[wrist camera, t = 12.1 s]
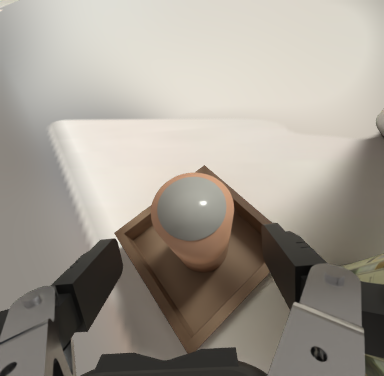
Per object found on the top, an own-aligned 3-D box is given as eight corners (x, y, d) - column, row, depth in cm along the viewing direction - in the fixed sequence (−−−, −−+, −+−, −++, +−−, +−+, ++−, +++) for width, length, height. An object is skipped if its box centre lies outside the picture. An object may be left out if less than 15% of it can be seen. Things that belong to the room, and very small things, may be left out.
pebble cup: (204, 212, 23) (196, 158, 15) (238, 247, 21) (253, 207, 12) (167, 243, 22) (134, 203, 13) (199, 285, 19) (184, 269, 11)
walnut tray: (206, 180, 27) (204, 165, 24) (285, 252, 21) (296, 243, 18) (127, 242, 24) (114, 233, 21) (194, 348, 18) (189, 357, 15)
